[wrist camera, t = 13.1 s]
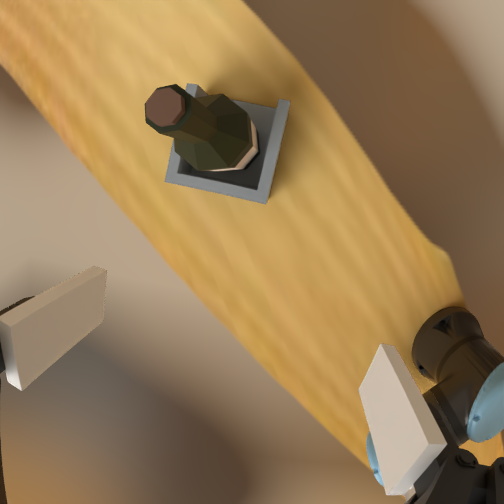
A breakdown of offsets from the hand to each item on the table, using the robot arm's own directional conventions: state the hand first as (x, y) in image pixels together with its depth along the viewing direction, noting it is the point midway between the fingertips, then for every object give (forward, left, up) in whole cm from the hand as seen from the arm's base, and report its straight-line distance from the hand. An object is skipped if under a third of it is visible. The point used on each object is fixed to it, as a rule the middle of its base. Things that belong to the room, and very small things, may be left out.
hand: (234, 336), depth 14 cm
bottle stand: (+8, -10, -37) cm, 39 cm away
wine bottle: (+8, -10, -36) cm, 38 cm away
